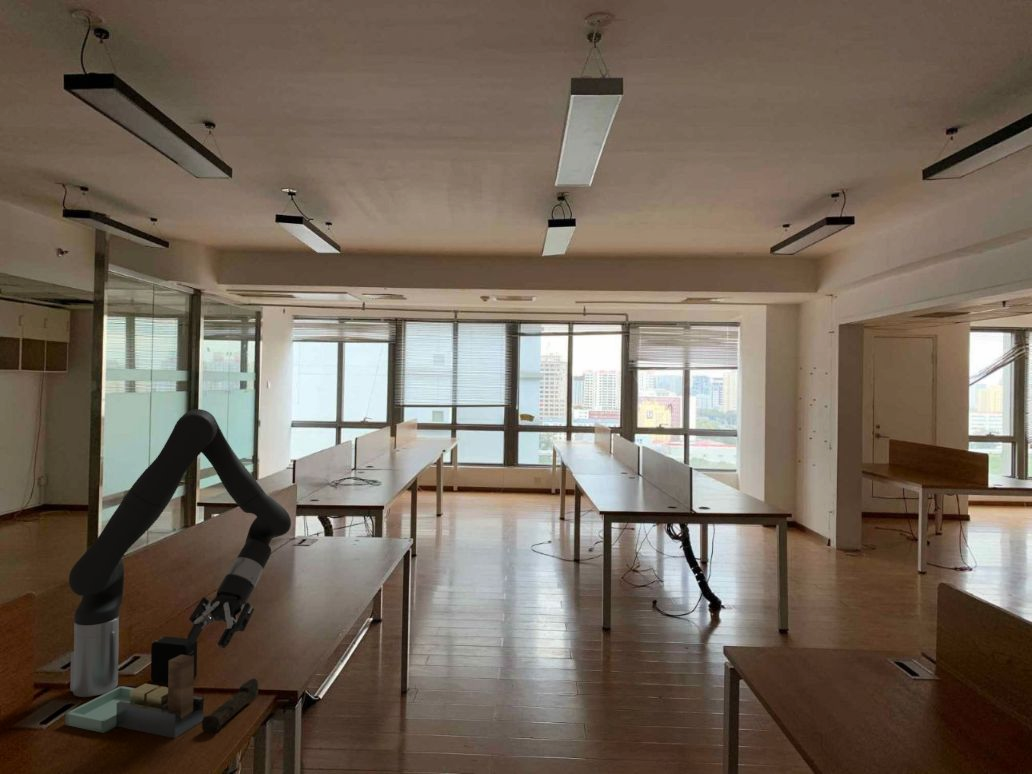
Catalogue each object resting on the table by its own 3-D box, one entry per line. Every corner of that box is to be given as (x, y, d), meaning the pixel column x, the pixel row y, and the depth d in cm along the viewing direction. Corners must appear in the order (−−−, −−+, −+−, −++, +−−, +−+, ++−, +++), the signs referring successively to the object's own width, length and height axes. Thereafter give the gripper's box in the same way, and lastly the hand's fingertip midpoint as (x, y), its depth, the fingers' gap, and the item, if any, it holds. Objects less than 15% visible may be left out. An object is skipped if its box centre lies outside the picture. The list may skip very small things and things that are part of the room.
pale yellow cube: (146, 712, 142) (146, 694, 142) (161, 704, 146) (161, 686, 146) (161, 715, 141) (161, 696, 141) (175, 706, 145) (175, 689, 145)
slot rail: (116, 726, 142) (116, 703, 142) (146, 709, 150) (147, 687, 150) (174, 738, 137) (175, 714, 137) (203, 720, 145) (203, 697, 145)
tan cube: (129, 709, 143) (130, 691, 143) (144, 701, 147) (145, 683, 147) (144, 712, 142) (144, 693, 142) (158, 703, 146) (159, 685, 146)
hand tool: (217, 736, 139) (217, 714, 139) (200, 733, 140) (201, 712, 140) (267, 695, 157) (268, 676, 158) (252, 694, 158) (253, 675, 158)
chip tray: (65, 724, 142) (65, 713, 142) (120, 696, 156) (120, 685, 156) (103, 733, 139) (104, 721, 139) (157, 703, 152) (157, 692, 152)
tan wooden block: (162, 716, 140) (163, 661, 140) (179, 706, 145) (180, 652, 145) (178, 719, 139) (179, 664, 139) (195, 709, 144) (196, 655, 144)
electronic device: (185, 685, 162) (186, 645, 162) (150, 681, 164) (151, 642, 164) (196, 678, 166) (197, 639, 166) (162, 674, 168) (163, 636, 168)
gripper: (209, 570, 159) (171, 633, 148) (258, 575, 155) (223, 640, 144) (224, 585, 164) (188, 647, 153) (271, 591, 160) (239, 655, 149)
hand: (205, 644), depth 149 cm, fingers open, 8 cm apart
